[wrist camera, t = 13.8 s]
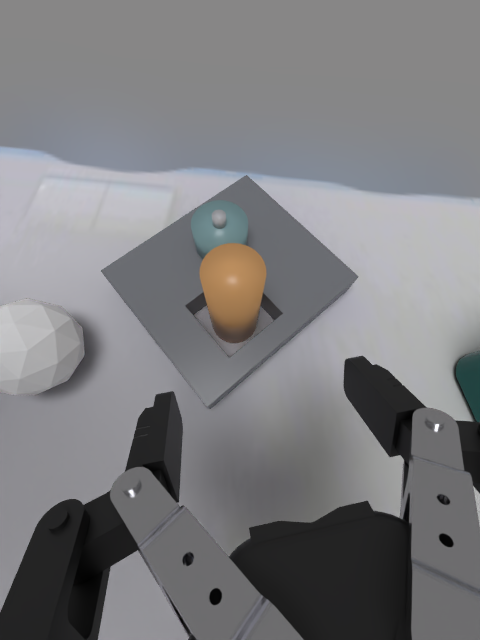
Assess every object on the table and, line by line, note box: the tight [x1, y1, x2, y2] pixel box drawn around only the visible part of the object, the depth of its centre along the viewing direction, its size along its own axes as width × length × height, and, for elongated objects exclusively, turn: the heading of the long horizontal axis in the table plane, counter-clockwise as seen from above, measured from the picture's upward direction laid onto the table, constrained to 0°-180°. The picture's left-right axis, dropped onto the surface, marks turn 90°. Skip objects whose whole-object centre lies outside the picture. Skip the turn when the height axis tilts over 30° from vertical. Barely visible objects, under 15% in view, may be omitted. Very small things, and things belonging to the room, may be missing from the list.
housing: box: [101, 175, 358, 408], centre depth 26 cm, size 18×16×7 cm
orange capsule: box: [199, 243, 266, 343], centre depth 23 cm, size 4×4×10 cm
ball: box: [0, 298, 85, 395], centre depth 23 cm, size 8×8×8 cm
